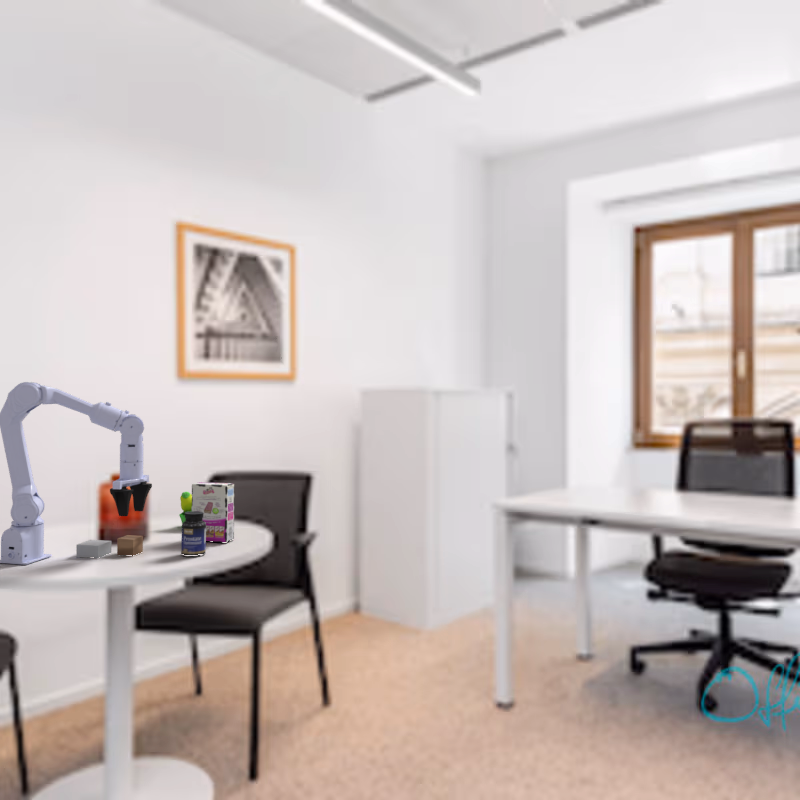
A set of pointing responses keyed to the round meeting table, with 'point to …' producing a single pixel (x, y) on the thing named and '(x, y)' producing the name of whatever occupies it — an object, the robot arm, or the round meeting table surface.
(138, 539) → the walnut cube
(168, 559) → the round meeting table surface
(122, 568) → the round meeting table surface
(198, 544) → the pill bottle
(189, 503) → the yellow green toy
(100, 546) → the grey block
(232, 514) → the candy bar box
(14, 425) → the robot arm
